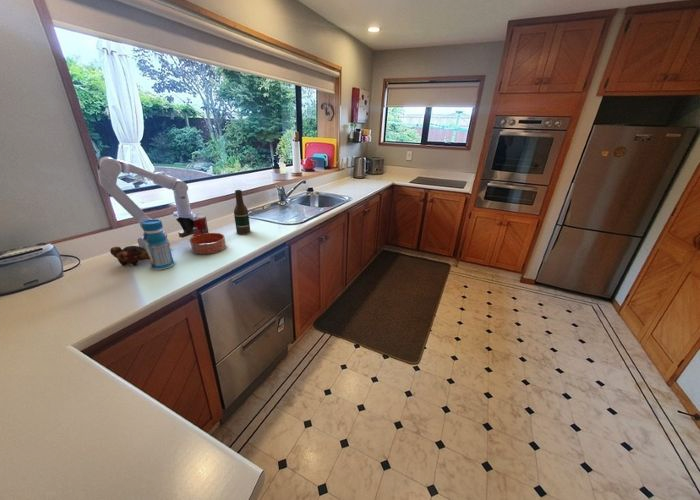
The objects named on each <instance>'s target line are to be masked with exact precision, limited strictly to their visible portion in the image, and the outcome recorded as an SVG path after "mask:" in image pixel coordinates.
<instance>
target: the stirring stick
mask: <svg viewBox="0 0 700 500" xmlns="http://www.w3.org/2000/svg"><path fill="white" fill-rule="evenodd" d="M198 232H199V231H198V228H196V227H193V232H191V233H188V231H187V230H182V231H179V232H178V237H179V238H181V239H182V238H183V239H184V238H186V237H189V236H193V234H195V233H198Z"/></svg>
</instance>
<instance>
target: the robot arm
mask: <svg viewBox="0 0 700 500" xmlns="http://www.w3.org/2000/svg"><path fill="white" fill-rule="evenodd" d="M96 171H97V175H98V182H99V185H100V187H101V188H102V189H103V190H105V192H107V194H108V195H110V196H111V197H112V198H113V199H114V200H115V202H117V203H118V204H119V205H120V206H121V207H122V208H123V209H124V210H125V211H126V212H127V213H128V214H129V215H130V216H131V217H133V219H134V220H136V222H137V223H138V224H139V226H140V228H141V229H142V230H143V228H142V224H141V223H142V222H143V221H146V220H151V219H153V218H151V217H149V216H148V215H147V214H146V213H145V212H144V210H142V209H141V208H140V207H139V206H138V205H137V204H136V203H135V202H134V200H132V199H131V198H130V196H128V194H126V192H124V190H122V188H121V187H120V186H119V185H118V184H117V183H118V182H117V181H118V177H119V176H120V174H121V173H122V174H130V173H132V174H134V175H137V176H141V177H143V178H146V179H149V180H151V182H152V183H153V184H154V185H157V186H159V187H162V188H165V189H168V190H172V192H173V197H174V202H175V207H176V211H173V212H172V214H173V217H177V218H175V219H176V221H177V223H178V224H179V225H180V227H181V228H182V231H184V230H187V231H188V233H191V232H193V226H194V222H195V220H198V218H197V216H196V215H197V214H195V213H194V212H193V211H192V209H191V204H190V199H189V195H188V191H189V186H188V185H187V183H186V182H185V181H183V180H181V179H179V178H178V177H176V176H171V175H168V174H167V172H164V171H156V172H152V171H150V170H149V169H145V168H143V167H142V166H141V167H140V166H139V165H137V164H133V163H131V162H129V161H125V160H121V159H118V158H116V159H115V158H113V157H112V156H107V155H106V156H102V157H100V158H99V159H98V162H97V165H96ZM144 234H145V231H144V230H143V233H142V236H141V237H139V238H138V239H137V244H138V246H139V247H142V248H144V249H145V250H146V251H147V248H146V247H145V241H144V239H143V237H144ZM170 250H172V249H171V248H170ZM147 253H148V252H147Z"/></svg>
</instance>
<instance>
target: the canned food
mask: <svg viewBox="0 0 700 500" xmlns="http://www.w3.org/2000/svg"><path fill="white" fill-rule="evenodd" d="M195 215H196V216H197V218H198V220H195V222H194V226H193V227H196V228H198V231H199V232H198V233H195V234H192V237H194V236H197V235H200V234H205V233H210V232H209V226H208V221H207V216H206V215H205V214H202V213H199V214H195Z"/></svg>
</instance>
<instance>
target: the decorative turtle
mask: <svg viewBox="0 0 700 500" xmlns="http://www.w3.org/2000/svg"><path fill="white" fill-rule="evenodd" d="M109 252H110V254H111V255H112V256H113V258H115V259H116V260H117V261H118V263H120V265H121V266H123V267H125V266H127V265H128V264H130V265H131V266H134V267H135V266H138V264H139V262H141V261H150V258H149V255H148V253H147V251H146V250H145V249H144V248H142V247H139V245H128V246H124V247H123V248H122V247H120V246H113V247H111V248H110V250H109Z"/></svg>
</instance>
